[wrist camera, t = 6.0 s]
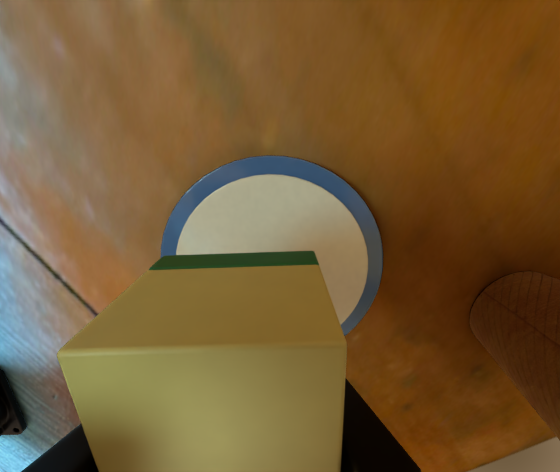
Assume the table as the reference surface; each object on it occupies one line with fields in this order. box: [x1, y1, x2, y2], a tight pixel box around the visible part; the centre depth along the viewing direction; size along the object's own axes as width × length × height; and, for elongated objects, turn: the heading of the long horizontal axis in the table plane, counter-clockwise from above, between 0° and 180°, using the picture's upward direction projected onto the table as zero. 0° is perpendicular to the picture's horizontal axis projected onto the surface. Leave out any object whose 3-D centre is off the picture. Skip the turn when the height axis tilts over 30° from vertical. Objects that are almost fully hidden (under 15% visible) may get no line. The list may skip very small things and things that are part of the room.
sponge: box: [57, 251, 347, 472], centre depth 7 cm, size 7×4×4 cm, turn 2°
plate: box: [161, 155, 383, 336], centre depth 17 cm, size 14×14×1 cm
